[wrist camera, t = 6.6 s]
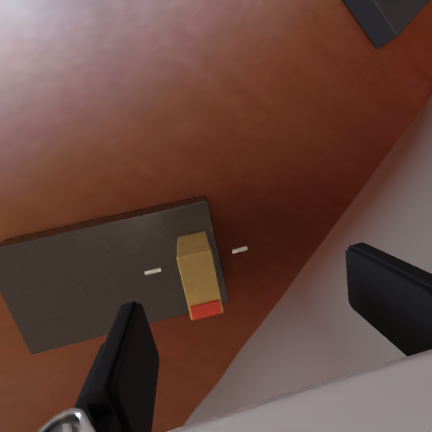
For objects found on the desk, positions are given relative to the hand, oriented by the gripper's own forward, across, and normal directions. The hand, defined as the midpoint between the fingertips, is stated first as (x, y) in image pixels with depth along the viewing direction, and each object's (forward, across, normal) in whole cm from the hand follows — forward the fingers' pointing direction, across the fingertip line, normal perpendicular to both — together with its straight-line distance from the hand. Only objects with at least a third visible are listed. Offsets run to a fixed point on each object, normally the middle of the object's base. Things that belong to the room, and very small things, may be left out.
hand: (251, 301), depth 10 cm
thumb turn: (+10, +2, +2) cm, 11 cm away
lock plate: (+13, +8, +2) cm, 16 cm away
